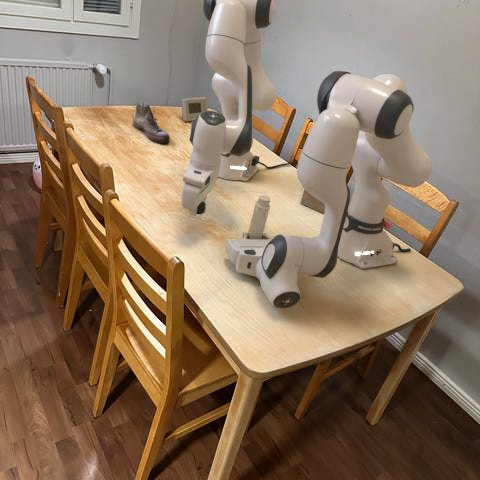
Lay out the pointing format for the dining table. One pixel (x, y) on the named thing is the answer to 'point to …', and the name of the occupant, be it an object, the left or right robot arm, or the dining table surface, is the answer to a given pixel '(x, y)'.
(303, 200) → the wooden block
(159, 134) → the shoe
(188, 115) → the digital clock
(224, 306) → the dining table surface
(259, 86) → the left robot arm
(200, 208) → the lid
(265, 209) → the beige cylindrical bottle
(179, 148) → the dining table surface
